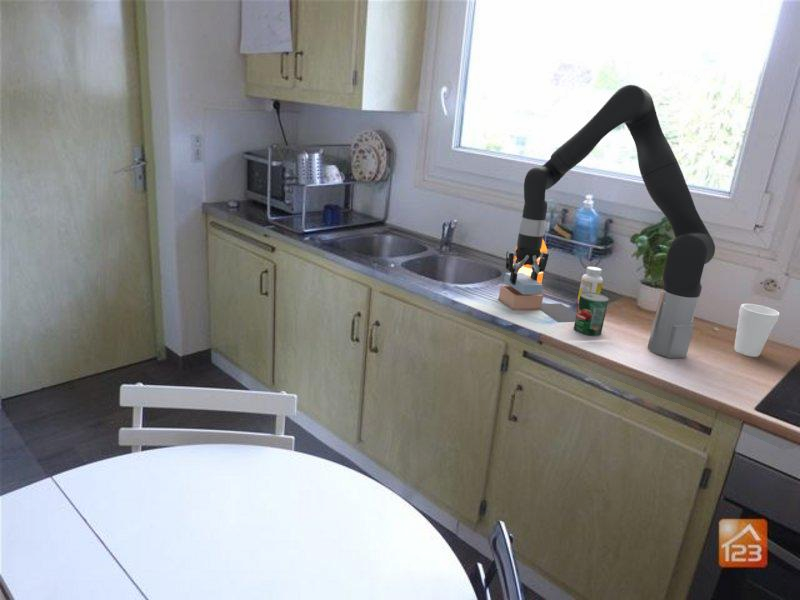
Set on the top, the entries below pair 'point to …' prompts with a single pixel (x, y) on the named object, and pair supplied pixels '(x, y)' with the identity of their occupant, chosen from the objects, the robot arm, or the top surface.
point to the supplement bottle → (591, 281)
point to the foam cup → (754, 328)
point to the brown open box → (519, 299)
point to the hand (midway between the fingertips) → (522, 283)
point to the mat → (559, 312)
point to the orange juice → (527, 268)
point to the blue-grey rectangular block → (524, 284)
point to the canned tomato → (590, 313)
